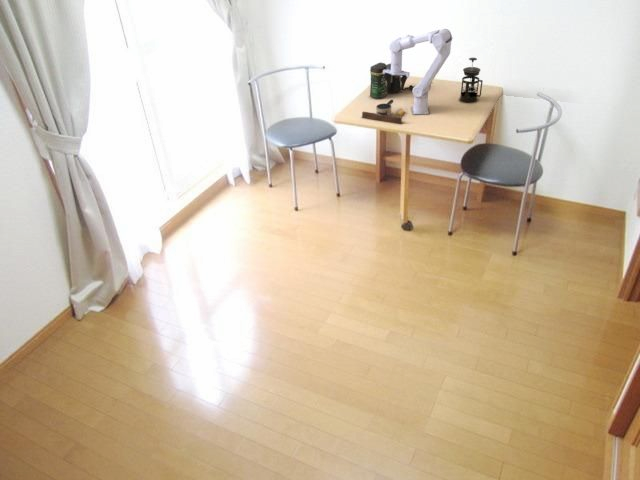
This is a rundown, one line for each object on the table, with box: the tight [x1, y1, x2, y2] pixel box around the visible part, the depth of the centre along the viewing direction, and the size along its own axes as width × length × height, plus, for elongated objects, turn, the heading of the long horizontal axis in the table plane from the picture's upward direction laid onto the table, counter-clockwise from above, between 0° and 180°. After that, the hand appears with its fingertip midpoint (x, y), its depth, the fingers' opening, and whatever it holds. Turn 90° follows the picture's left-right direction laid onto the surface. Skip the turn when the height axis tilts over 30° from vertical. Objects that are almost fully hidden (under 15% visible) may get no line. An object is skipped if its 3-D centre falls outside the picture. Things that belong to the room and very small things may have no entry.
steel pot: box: [375, 99, 394, 116], centre depth 277 cm, size 15×8×6 cm, turn 150°
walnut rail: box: [361, 111, 403, 125], centre depth 272 cm, size 22×2×3 cm, turn 61°
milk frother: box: [386, 63, 416, 94], centre depth 299 cm, size 14×16×15 cm
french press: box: [459, 57, 484, 104], centre depth 279 cm, size 12×9×23 cm
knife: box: [395, 109, 405, 118], centre depth 274 cm, size 12×2×1 cm, turn 150°
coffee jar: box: [369, 62, 387, 99], centre depth 294 cm, size 10×8×19 cm
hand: (395, 88), depth 279 cm, fingers open, 7 cm apart
